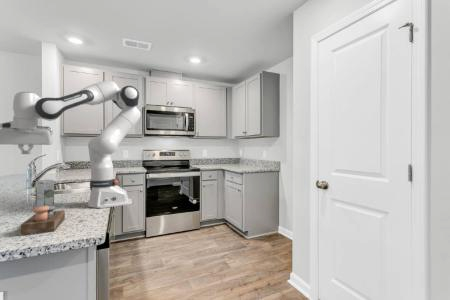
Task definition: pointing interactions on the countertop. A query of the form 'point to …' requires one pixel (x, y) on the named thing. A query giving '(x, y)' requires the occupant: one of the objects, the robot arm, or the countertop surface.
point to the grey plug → (51, 210)
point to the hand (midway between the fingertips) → (25, 154)
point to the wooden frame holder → (43, 224)
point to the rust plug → (41, 213)
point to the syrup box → (44, 193)
